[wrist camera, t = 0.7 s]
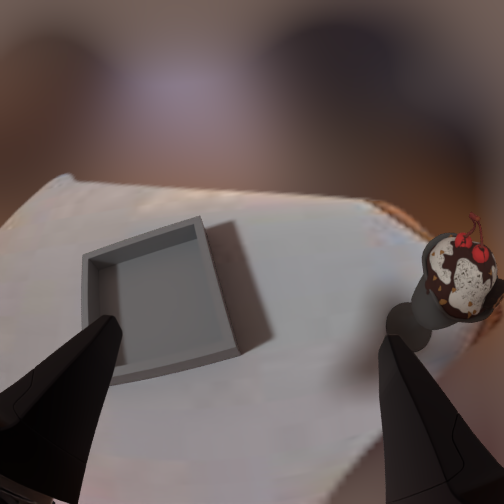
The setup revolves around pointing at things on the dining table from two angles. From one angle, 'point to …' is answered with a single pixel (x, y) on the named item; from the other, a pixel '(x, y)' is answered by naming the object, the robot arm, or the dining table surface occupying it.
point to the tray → (160, 301)
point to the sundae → (449, 288)
